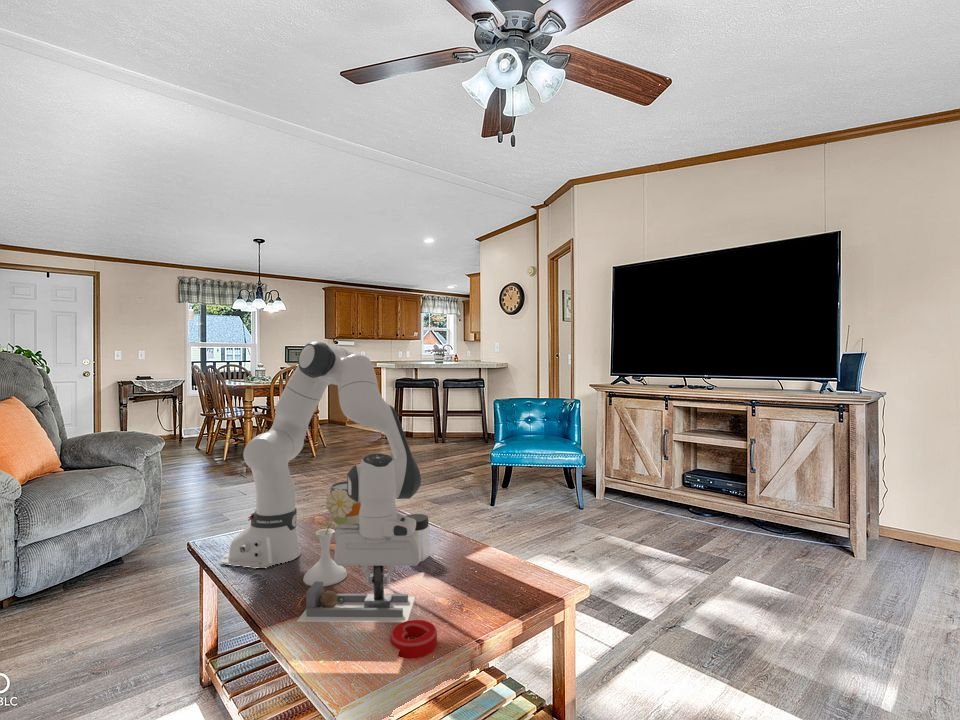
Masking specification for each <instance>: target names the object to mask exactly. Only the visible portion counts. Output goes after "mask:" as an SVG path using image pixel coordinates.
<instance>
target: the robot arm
mask: <svg viewBox="0 0 960 720" xmlns="http://www.w3.org/2000/svg"><path fill="white" fill-rule="evenodd" d="M297 365H298V366H296V368H295V370H294V371H293V372H292V374H291V376H290V378H289V379H288V381H287V383H286V385H285V386H284V389H283V391H282V392H281V395H280V397H279V399H278V401H277V403H276V404H275V408H274V409H275V410H274V411H275V415H274V419H273V423H272V426H271V427H270V429H268V431H266V432H262V433H259V434H258V435H256V436H255V437H253V438H252V439H250V441H249V442H248V443H246V445H245V447H244V449H243V454H242V457H243V459H244V460H243V461H244V463H245V464H246V465H247V466H248V467H249V468H250V470H251V473H252V477H253V480H254V484H255V494H256V495H255V497H256V498H255V499H256V500H255V502H256V504H255V505H256V509H255V510H254V512H253V513H251V514H250V516H248V517H247V521H248V522H250V524H249V525H248V526H247V527H245V528H244V529H243V530H241V531H240V533H238V534H237V535H235V537H234V538H232V540H231V542H230V546H229V551H228V552H226V553H225V554H224V555H223V556H222V557H221V559H220V564H221V563H222V564H231V565H240V566H250V567H259V568H265V567H269V566H271V567H273V566H272V565H274V566H276V565H275V564H278V565H281V564H280V563H282V564H286V563H288V561H289V562H290V561H293V560H295V559H297V558H299V557H300V556H301V554H302V551H301V550H302V549H301V548H300V547H301V546H300V544H299V541H298V540H299V539H298V534H297V533H298V532H297V523H298V512H297V511H298V510H297V507H296V484H295V483H296V482H295V481H294V480H293V479H292V476H291V473H290V469H289V462H290V461H292V460H293V459H295V458H296V457H297V456H298V455H299V454H300V452H301V451H302V450H303V448H304V446H305V445H304V443H305V438H306V436H307V432H308V429H309V428H308V427H309V425H310V422H311V420H312V417H313V415H314V414H315V412H316V410H317V408H318V406H319V403H320V401H321V399H322V397H323V395H324V393H325V391H326V389H327V387H328V386H329V385H335V386H337V393H338V394H337V395H338V402H339V406H340V410H341V412H342V413H343V415H344V416H345V417H346V418H347V419H349V420H350V421H352V422H354V423H356V424H359V425H364V426H367V427H371V428H373V429H376V430H378V431H380V432H381V433H383V435H385V437H386V438H387V439H386V440H387V441H388V444H389V447H390V450H391V453H392V456H393V457H392V456H390V455H389V454H386V453H376V452H375V453H371V454H367V455H365V456H363V457H362V459H361V461H360V463H358V464H355V465H354V466H353V467H352V468H350V470H349V471H348V472H347V473H346V476H347V478H346V479H347V480H346V481H347V495H348V496H349V497H350V498H351V499H353V500H354V501H356V502H360V503H361V506H360V510H359V524H351V525H347V524H342V525H341V526H339V527H337V528H336V527H335V532H334V541H335V547H334V548H335V549H334V557H333V558H334V559H333V561H335V563H336V564H337V565H339V566H343V567H344V566H352V567H353V566H355V567H357V566H361V572H363V574H364V576H365V577H366V584H367V585H371V584H372V585H373V573H371V571H370V569H369V567H373V566H384V567H385V566H386V567H387V568H386V569H387V571H388V572H387V573H384V576H383V584H384V585H388V584H390V583H391V575H392V573H393V571H394V569H395V567H397V566H399V567H403V566H404V567H409V566H410V567H416V566H418V565H419V564H420V560H421V542H420V537H419V534H418V532H417V531H416V530H415V528H416V520H415V519H413V518H410V517H407V516H406V515H403V514H400V513H398V509H397V504H396V500H405V499H406V500H407V499H408V500H409V499H411V498H412V497H413V496H414V495H416V494H417V492H418V491H419V489H420V488H421V486H422V485H421V484H422V478H421V472H420V468H419V467H418V463H417V462H416V461H415V458H414V456H413V454H412V452H411V449H410V446H409V443H408V440H407V437H406V435H405V432H404V429H403V426H402V424H401V421H400V419H399V418H400V417H399V416H398V413H397V411H396V409H395V408H394V406H393V405H390V404H388V403H387V402H386V401H385V399H384V397H382V394H381V392H380V390H379V389H380V388H379V382H378V379H377V373H376V371H375V368H374V366H373V363H372V361H371V360H370V358H369V357H367V355H364V354H360V353H359V354H357V353H354V352H352V351H350V350H348V349H345V348H343V347H337V346H334V345H332V344H327V343H325V342H322V341H309V342H308V343H307V344H304V346H303V347H302V349H300V351H299V354H298V359H297ZM339 528H341V529H339ZM285 562H286V563H285ZM269 568H270V567H269ZM265 569H266V568H265Z"/></svg>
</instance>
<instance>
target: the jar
mask: <svg viewBox="0 0 960 720" xmlns="http://www.w3.org/2000/svg"><path fill="white" fill-rule="evenodd" d="M405 516H407V517H410V518H413V519H415V520H416V528H415V530H416V531H417V532H418V534H419V537H420V542H421V560H420V562H424V561H425V560H427V559H428V558H430V556H431V539H430V537H431V535H430V534H431V527H430V525H429V517H428V515H425V514H423V513H410V514H407V515H405ZM420 562H419V563H420Z"/></svg>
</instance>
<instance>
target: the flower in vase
mask: <svg viewBox="0 0 960 720" xmlns="http://www.w3.org/2000/svg"><path fill="white" fill-rule="evenodd" d="M325 505H326V507H325V509H326V510H327V511H328V513H329V514H330V516H331V517H332V518H331V521H330V523H329V524H328V523H323V522H320V521H317V520H316V523H317V525H320V526H324V527H327V528H323V529H322V528H321V529H318V530H316V532H315V535H316V536H317V538H318V540H319V544H320V557H319V560H318V561H317V562H316V563H315V564H314V565H313V566H312V567H311V568H309V570H307V571H306V573H304V576H303V579H302V580H303V583H304V584H305V585H306V586H310V587H311V586H312V585H313V584H314V582H323V587H329V586H333V585H336V584H339V583H341V582H342V581H344V580H345V579H346V578H347V576H348V572H347V569H346V568H345V567H344V566H339V565H337V564H336V563H335V561H334V559H332V557H331V554H330V550H331V549H330V547H331V540H332V537H333V535H334V534H335V530H336V529H335V530H334V529H333V528H331V525H332V524H333V522H334V524H335V523H336V524H338V525H341V524H343V523H345V522H347V521H348V519H347V518H346V517H345V516H346V514H349V512H350V511H352V508H351V507H352V506H353V504H352V499H351V498H350V497H349V496H348V495H347V492H346V491H345V490H343V491H342V489H340V490H337V489H335V490H334V491H332V493H331V494H330V493H328V494H327V497H326V501H325ZM334 517H335V518H334Z"/></svg>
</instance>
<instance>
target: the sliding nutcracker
mask: <svg viewBox="0 0 960 720" xmlns="http://www.w3.org/2000/svg"><path fill="white" fill-rule="evenodd" d="M323 593H324V586H323V582H314V584H313V585H312V586H310V587H309V588H308V590H307V591H306V592H305V595H306V596H305V597H306V598H305V599H306V600H305V601H306V603H305V605H306V606H305V607H306V608H305V609H304V611H303V613H301V615H300V616H299V618H298V619H297V620H296V622H298V623H301V622H302V623H403V622H405V621H410V620H412V619H411V618H412V614H413V612H414V608H415V605H416V600H415V599H416V596H417V595H416V596H415V595H413V596H410V595H409V593H392V594H393V605H392V607H391V608H364V600H365V598H366V597H367V595H368V594H369V593H336V594H337V598H338V600H337V603H336V605H335V606H334V607H333V608H323V607H322V606H321V604H320V598H321V596H322V594H323Z"/></svg>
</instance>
